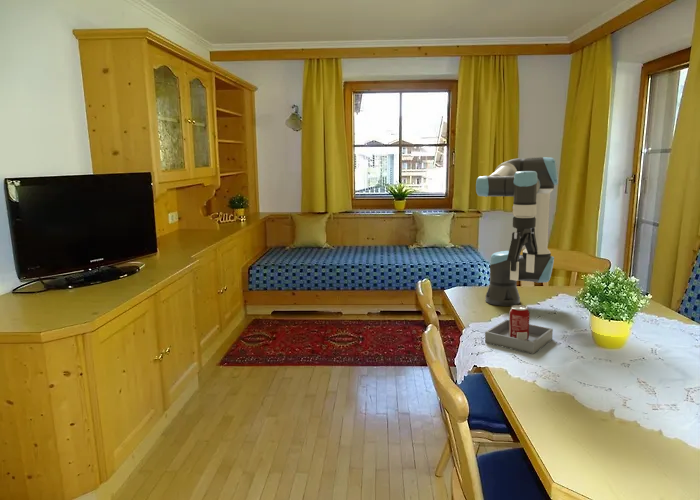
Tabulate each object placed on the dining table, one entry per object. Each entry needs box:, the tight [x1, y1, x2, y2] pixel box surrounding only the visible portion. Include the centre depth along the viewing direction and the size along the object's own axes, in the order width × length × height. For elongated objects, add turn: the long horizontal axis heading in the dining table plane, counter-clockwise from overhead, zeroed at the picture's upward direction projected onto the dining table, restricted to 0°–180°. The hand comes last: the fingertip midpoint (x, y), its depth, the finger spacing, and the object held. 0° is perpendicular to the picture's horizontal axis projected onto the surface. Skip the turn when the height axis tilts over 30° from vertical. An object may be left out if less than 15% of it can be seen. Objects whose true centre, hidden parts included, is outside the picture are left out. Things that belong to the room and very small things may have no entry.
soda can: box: [508, 304, 530, 340], centre depth 173 cm, size 7×7×12 cm
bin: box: [484, 319, 554, 355], centre depth 174 cm, size 17×17×4 cm
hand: (522, 276), depth 172 cm, fingers open, 13 cm apart
